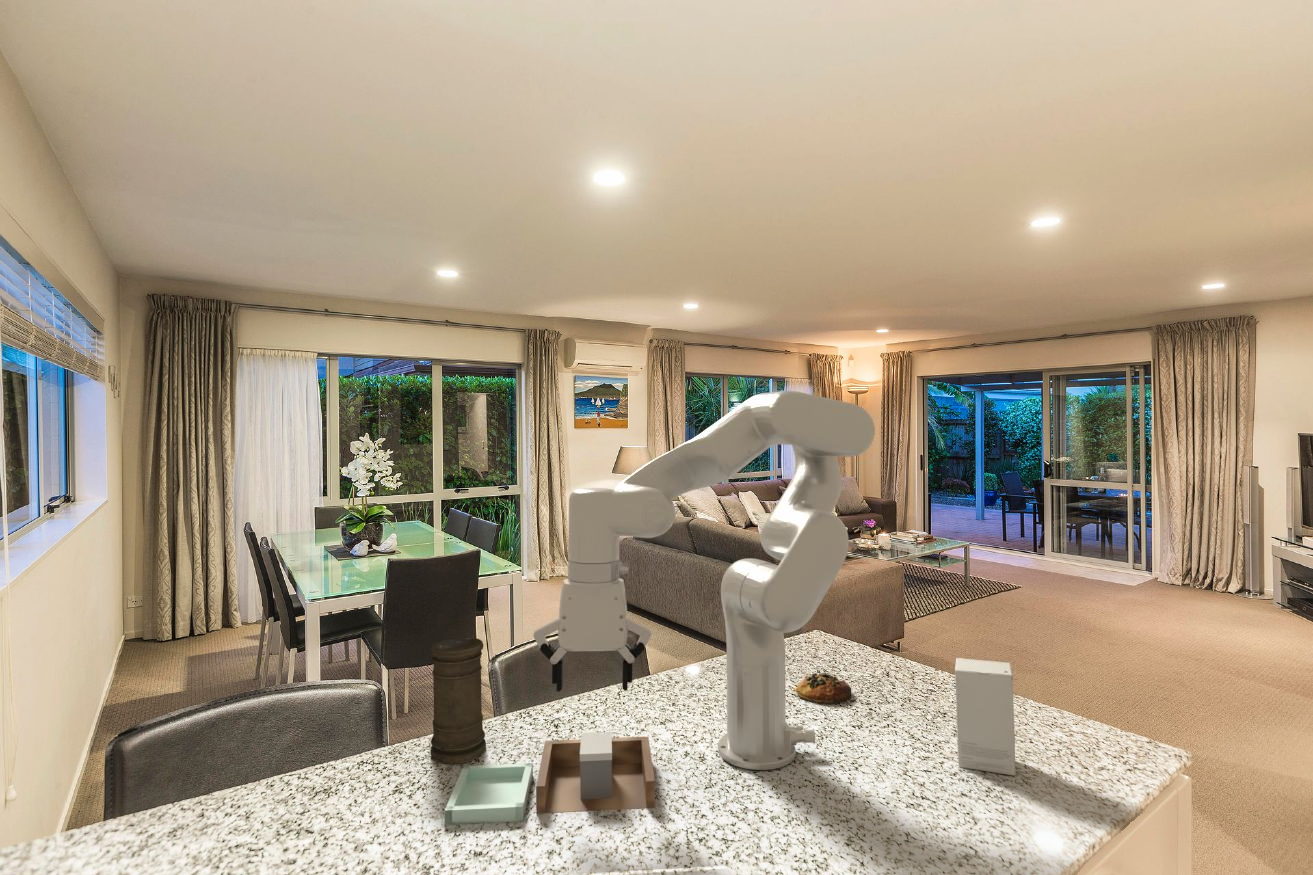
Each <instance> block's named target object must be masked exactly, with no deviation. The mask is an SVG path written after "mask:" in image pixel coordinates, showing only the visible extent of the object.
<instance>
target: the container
mask: <svg viewBox="0 0 1313 875" xmlns="http://www.w3.org/2000/svg"><path fill="white" fill-rule="evenodd" d="M483 649H484V642H483V640H481V639H480V638H477V637H470V636H469V637H468V636H466V637H465V636H459V637H451V638H447V639H446V638H445V639H442V640H438V641H436V642H435V643H433V644H432V645H431V647H430V654H431V655H432V658H431V659H432V662H433V670H432V672H431V673H432V675H433V676H432V678H433V679H432V680H433V685H432V686H433V688H432V689H433V690H432V691H433V719H432V727H433V729H432V730H433V735H432V738H431V739H430V744H431V747H430V750H429V752H430V756H431V759H432V760H433V761H435V762H437V763H439V764H447V765H448V764H449V765H457V764H465V763H468V762H471V761H473V760H474V759H476V758H478V757H479V756H482V755H483V753H484V752H486V748H487V742H486V739H485V737H486V733H485V731H484V728H483V720H484V719H483V718H484V715H483V712H482V710H483V709H482V706H483V705H482V670H483V669H482V668H483V667H482V664H481V662H482V661H481V658H482V654H483V652H482V650H483Z"/></svg>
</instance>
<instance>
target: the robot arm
mask: <svg viewBox="0 0 1313 875" xmlns="http://www.w3.org/2000/svg"><path fill="white" fill-rule="evenodd" d="M875 434H876V427H875V422H874V420H873V418H872V416H871V415H870V413H869V412H868V411H867V410H866V409H865V408H864V407H862V406H860V405H857V404H856V403H855V404H854V403H851V402H848V401H847V402H846V401H842V400H837V399H833V398H828V397H823V396H820V395H815V394H811V393H805V392H802V391H796V390H780V391H779V390H778V391H771V392H761V393H758V394H755V395H753V396H751V397H749V398H747V399H746V400H744V401H743V402H741V403H740V404H739V405H738V406H736V407H735V408H734V409H732V410H730V411H729V412H728V413H726V414H725V415H724V416H723V417H721V418H720V419H719V420H717V421H715V422H714V423H712V425H710V426H709V427H707V428H706V429H705V430H703V431H702V432H701V433H699V434H697V435H695V436H694V437H693V438H692V439H689V440H687V441H685V442H683V443H681V444H680V445H678V446H676V447H674V448H672V449H671V450H670V451H667V452H665V453H663V454H661V455H660V456H658V457H656V458H655V459H652V460H650V461H649V462H648V463H645V465H643V466H642V467H640V468H639V469H637V470H636V471H635V472H633V473H632V474H631V475H629V476H628V477H626V478H625V479H624V480H622V481H621V482H619V483H618V484H617V485H616V486H615V487H613V489H611V488H606V487H605V488H604V487H583V488H577V489H574V490H573V491H572V492H571V493H570V495H569V497H568V541H567V542H568V544H567V545H568V550H567V554H568V556H567V559H568V561H567V565H568V566H567V578H565V579H563V582H562V584H561V585H562V586H561V590H560V591H561V592H560V598H559V609H558V618H557V619H555V620H553V621H551V622H549V623H547V624H546V625H543V626H541V627H539V628H537V629H536V630H535V631H534V632H533V635H532V636H533V638H534V641H535V642H536V644H537V646H538V648H539V650H540V652H541V653H542V655H544V656H545V657H546V658H547V659H548V660H549V662H550V663H551V664H552V665H551V666H552V668H551V676H552V677H551V681H552V682H551V684H552V685H553V684H554V685H555V684H556V688H555V689H556V692H558V693H559V692H561V691H562V689H563V683H564V679H563V677H564V669H563V668H564V659H562V658H563V657H564V656H565V655H566V653H567V652H610V651H611V652H613V651H617V652H618V653H619V654H620V655H621V656H622V659H621V660H622V661H621V662H622V666H621V667H622V668H621V669H622V672H621V673H622V676H621V677H622V678H621V679H622V680H621V681H622V682H621V684H622V686H621V687H622V690H623V691H628V688H629V686H628V684H631V683H633V663H634V662H635V661H636V659H637V658H638V657H639V656H640V655H641V653H643V652H644V650H645V649H646V646H647V645H648V643H649V641H650V639H651V637H652V630H651V629H650V628H648V627H646V626H644V625H642V624H640V623H638V622H636V621H635V620H633V619H630V618H629V617H628V605H627V594H626V587H625V582H624V579H622V578H620V577H621V576H622V575H624V574H629V573H630V572H629V571H630V570H629V569H630V566H629V565H630V564H628V563H623V562H622V561H620V537H622V536H623V537H632V538H633V537H634V538H644V539H652V538H656V537H660V536H662V535H663V534H665V533H666V532H668V531H669V530H670V529H671V528H672V526H673V524H674V522H675V519H676V507H675V504H674V502H673V500H674V499H676V498H677V497H680V496H681V495H683V494H687V493H690V492H692V491H695V490H699V489H704V488H708V487H712V486H715V485H718V484H720V483H723V482H726V481H727V480H729V479H730V478H732V477H733V476H735V475H736V474H737V473H738V472H740V471H741V470H742V469H743V468H744V467H746V466H747V465H749V463H751V462H752V461H753V460H755V459H756V458H758V457H759V456H760V455H762V454H763V453H765V452H766V451H767V450H768V449H770V448H772V447H773V446H774V445H785V446H786V445H787V446H789V445H791V447H792V450H793V454H794V461H795V462H794V463H795V465H794V466H795V468H794V473H793V474H792V475H793V476H792V477H791V480H790V482H789V483H788V485H787V487H786V489H785V490H784V492H783V494H782V495H781V497H780V499H779V500H778V502H777V503H776V505H775V506H774V508H773V509H772V511H771V512H770V514H769V516H768V517H767V519H766V520H765V523H764V524H763V527H762V529H761V532H760V544H761V547H762V548H763V551H764V552H765V553H767V555H769V556H770V557H772V558H773V559H776V560H778V561H779V564H778V565H777V564H776V563H772V562H769V561H767V560H763V559H758V558H753V557H751V558H749V557H748V558H743V559H739V560H736V561H734V562H733V563H732V564H730V566H728V568H727V569H726V571H724V573H723V576H722V580H721V584H720V598H721V605H722V611H723V618H724V623H725V624H724V625H725V637H726V638H725V640H726V732H727V733H726V734H725V735H723V736H722V737H721V738H720V739H719V740H718V743H717V752H718V755H719V756H720V757H721V758H722V759H723V760H724V761H725V762H726V763H728V764H730V765H732V766H735V767H739V768H742V769H745V770H753V771H754V770H755V771H769V770H775V769H776V770H777V769H780V768H783V767H786V766H788V765H789V764H791V763H792V762H793V761H794V759H795V757H796V746H797V744H798V743H804V744H811V743H816V733H815V730H814V729H805V730H804V726H803V725H793V726H792V725H790V726H789V724H788V723H787V721H786V714H787V713H786V710H787V709H786V643H785V637H784V636H785V635H784V633H785V634H786V633H792V632H797V631H798V630H799V629H801V628H803V627H804V626H805V625H806V624H807V623H808V622H809V621H810V620H811V619H812V618H813V616H814V615H815V613H816V611H817V609H818V608H819V606H820V604H821V603H822V602H823V600H824V598H825V596H826V595H827V593H828V591H829V589H830V587H831V585H832V584H833V583H834V580H835V579H836V578H837V576H838V575H839V572H840V571H841V569H842V567H843V564H844V563H845V560H846V559H847V554H848V550H849V542H850V541H849V533H848V530H847V528H846V525H845V524H844V523H843V521H842V520H841V518H840V517H838V516H837V515H835V514H834V513H833V511H834V509H835V508H836V506H837V503H838V501H839V499H840V496H841V493H842V489H843V479H842V478H843V476H842V471H841V467H840V463H839V459H838V457H844V458H846V457H847V458H852V457H856V456H859V455H861V454H863V453H864V452H866V451H867V450H868V449H869V448H870V446H872V444H873V442H874V439H875V436H876V435H875ZM628 630H629V631H631V632H633V633H634V634H636V635H638V636H639V638H638V640H637V641H636V643H634V644H633V645H632V646H630V645H629V644H628V643H627V642H628ZM556 631H557V639H558V640H557V641H558V644H557V646H556V647H555V648H554V647H553V645H552V644H550V643H549V642H548V640H547V638H546V637H547V636H550V635H551V634H553V633H554V632H556Z"/></svg>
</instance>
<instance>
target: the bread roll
mask: <svg viewBox="0 0 1313 875" xmlns="http://www.w3.org/2000/svg"><path fill="white" fill-rule="evenodd" d="M794 691H795V693H796V694H797V695H798V696H799V698H801V699H803V700H804V701H808V702H811V703H812V702H814V703H817V704H818V703H819V704H840V703H844V702H847V701H849V699H851V698H852V687H851V686H850V685H849V684H848V683H847V682H846V680H844V679H842V680H840V679H839V678H837V676H833V675H831V674H828V673H825V672H821V673H819V674H818V673H812V674H809V675H805V676H804V678H803V679H802V680H801V681H800V682H799V683H797V685H796V687H795V690H794Z"/></svg>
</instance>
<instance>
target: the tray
mask: <svg viewBox="0 0 1313 875" xmlns="http://www.w3.org/2000/svg"><path fill="white" fill-rule="evenodd" d="M533 766H534V763H533V762H530V763H529V762H525V763H524V762H522V763H505V764H504V763H503V764H483V765H482V764H480V765H463V766H462V769H461V771H460V773H459V776H458V777H457V781H456V783H455V785H454V788H453V790H452V792H451V795H450V796H449V799H448V801H447V804H446V806H445V809H444V827H446V826H448V825H449V826H450V825H451V826H452V825H454V826H455V825H470V824H472V825H474V824H475V825H476V824H491V823H492V824H493V823H511V822H514V823H516V822H523V821H524V818H525V814H526V810H527V805H528V800H529V796H530V790H531V786H532V781H533V776H534V767H533Z"/></svg>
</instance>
